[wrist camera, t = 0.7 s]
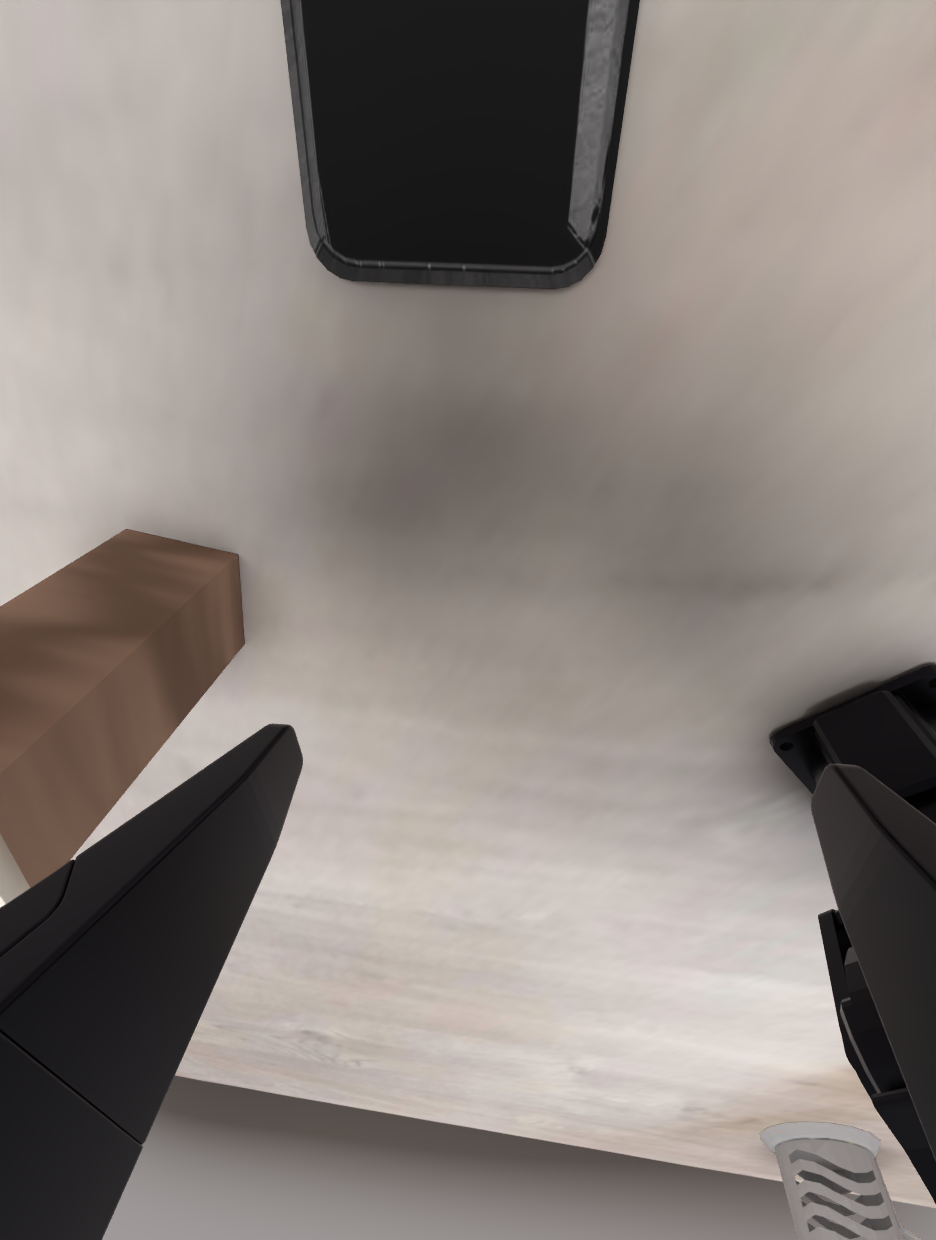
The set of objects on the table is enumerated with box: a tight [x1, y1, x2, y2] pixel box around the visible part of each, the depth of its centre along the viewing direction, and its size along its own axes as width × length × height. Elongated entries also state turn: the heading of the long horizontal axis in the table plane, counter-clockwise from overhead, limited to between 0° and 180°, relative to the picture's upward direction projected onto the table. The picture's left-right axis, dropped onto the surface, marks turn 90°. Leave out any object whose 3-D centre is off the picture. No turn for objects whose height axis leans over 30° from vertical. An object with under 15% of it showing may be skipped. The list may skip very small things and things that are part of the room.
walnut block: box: [0, 529, 245, 907], centre depth 17 cm, size 4×4×12 cm
